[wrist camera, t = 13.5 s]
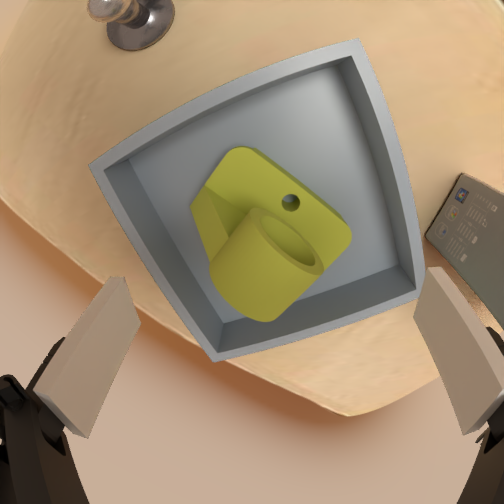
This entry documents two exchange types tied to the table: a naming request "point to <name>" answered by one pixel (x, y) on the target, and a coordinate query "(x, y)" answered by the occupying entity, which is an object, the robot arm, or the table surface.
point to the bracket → (264, 233)
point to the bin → (306, 171)
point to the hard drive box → (474, 239)
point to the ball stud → (133, 20)
